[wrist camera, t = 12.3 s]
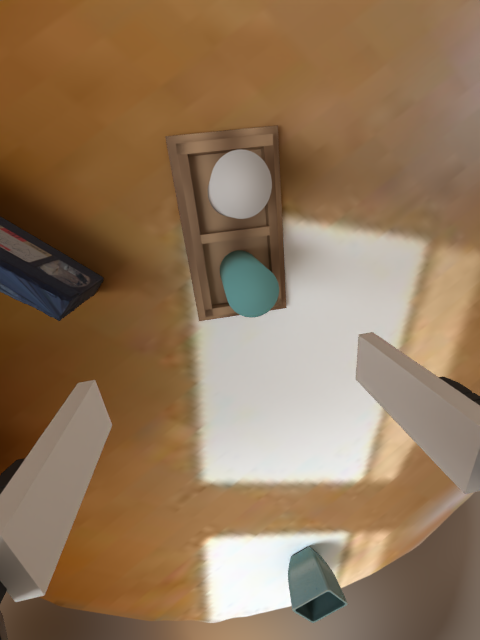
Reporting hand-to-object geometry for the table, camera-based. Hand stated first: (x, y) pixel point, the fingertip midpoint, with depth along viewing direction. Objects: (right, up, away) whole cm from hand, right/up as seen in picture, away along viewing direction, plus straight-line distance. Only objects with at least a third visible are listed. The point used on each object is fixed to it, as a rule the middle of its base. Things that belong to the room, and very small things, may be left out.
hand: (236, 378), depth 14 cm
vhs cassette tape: (-25, +12, +18) cm, 33 cm away
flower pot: (+15, -51, +49) cm, 72 cm away
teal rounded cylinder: (0, +9, +21) cm, 23 cm away
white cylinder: (-1, +17, +17) cm, 25 cm away
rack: (-1, +14, +20) cm, 24 cm away
